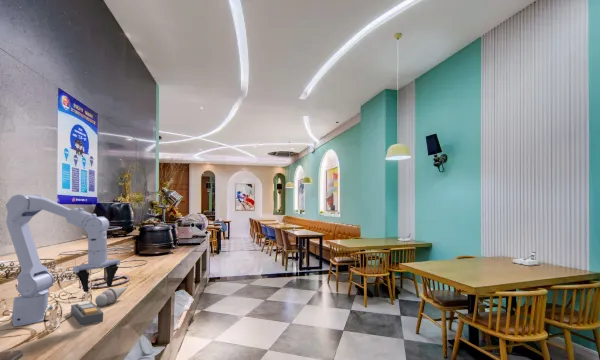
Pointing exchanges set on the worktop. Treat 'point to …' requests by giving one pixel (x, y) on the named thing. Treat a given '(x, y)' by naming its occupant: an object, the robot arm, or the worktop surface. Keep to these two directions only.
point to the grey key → (86, 307)
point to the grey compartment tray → (86, 319)
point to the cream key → (82, 303)
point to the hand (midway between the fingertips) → (97, 288)
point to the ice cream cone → (109, 296)
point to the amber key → (90, 311)
